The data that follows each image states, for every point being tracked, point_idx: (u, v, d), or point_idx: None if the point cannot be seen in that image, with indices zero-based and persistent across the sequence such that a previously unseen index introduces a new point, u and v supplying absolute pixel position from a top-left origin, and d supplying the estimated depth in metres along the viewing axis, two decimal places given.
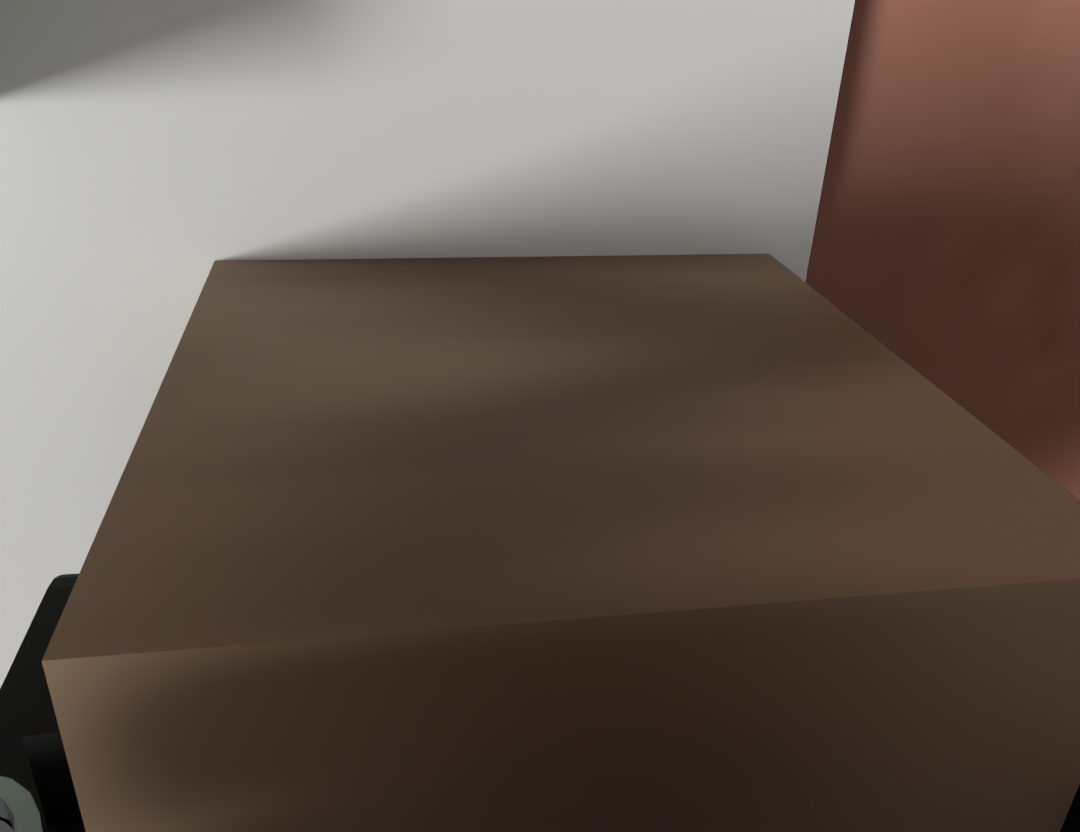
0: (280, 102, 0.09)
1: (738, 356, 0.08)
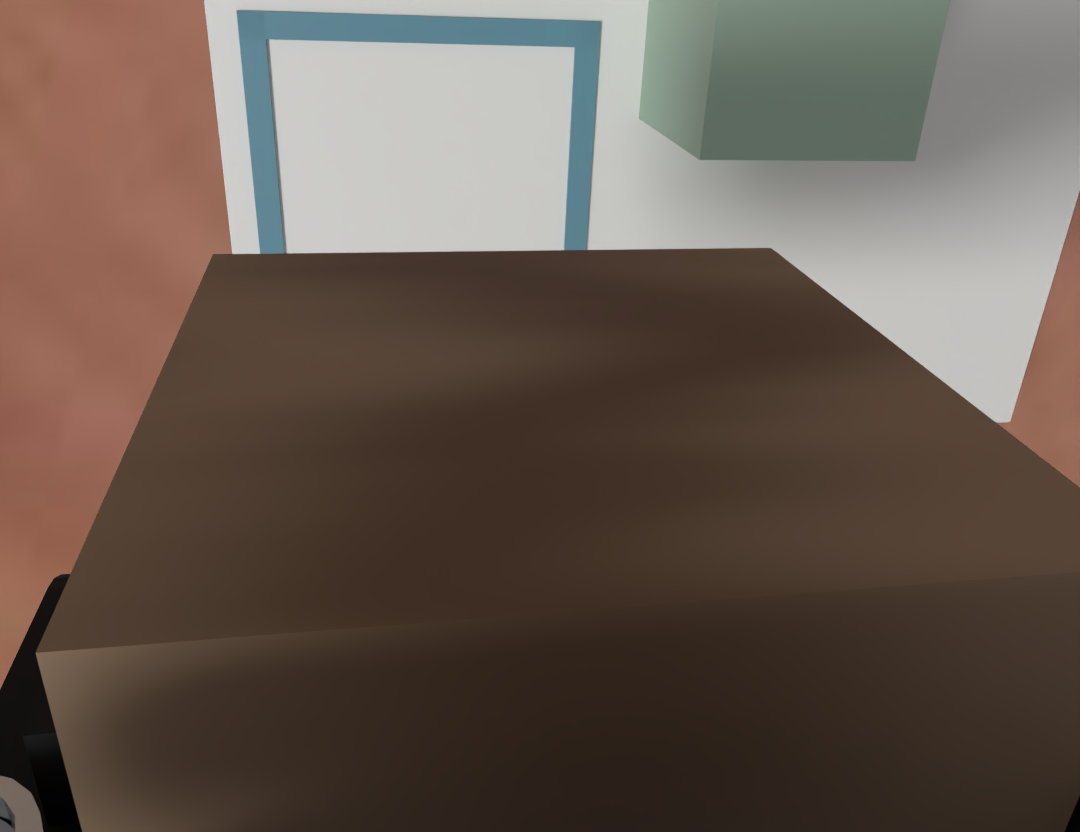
0: None
1: (740, 350, 0.08)
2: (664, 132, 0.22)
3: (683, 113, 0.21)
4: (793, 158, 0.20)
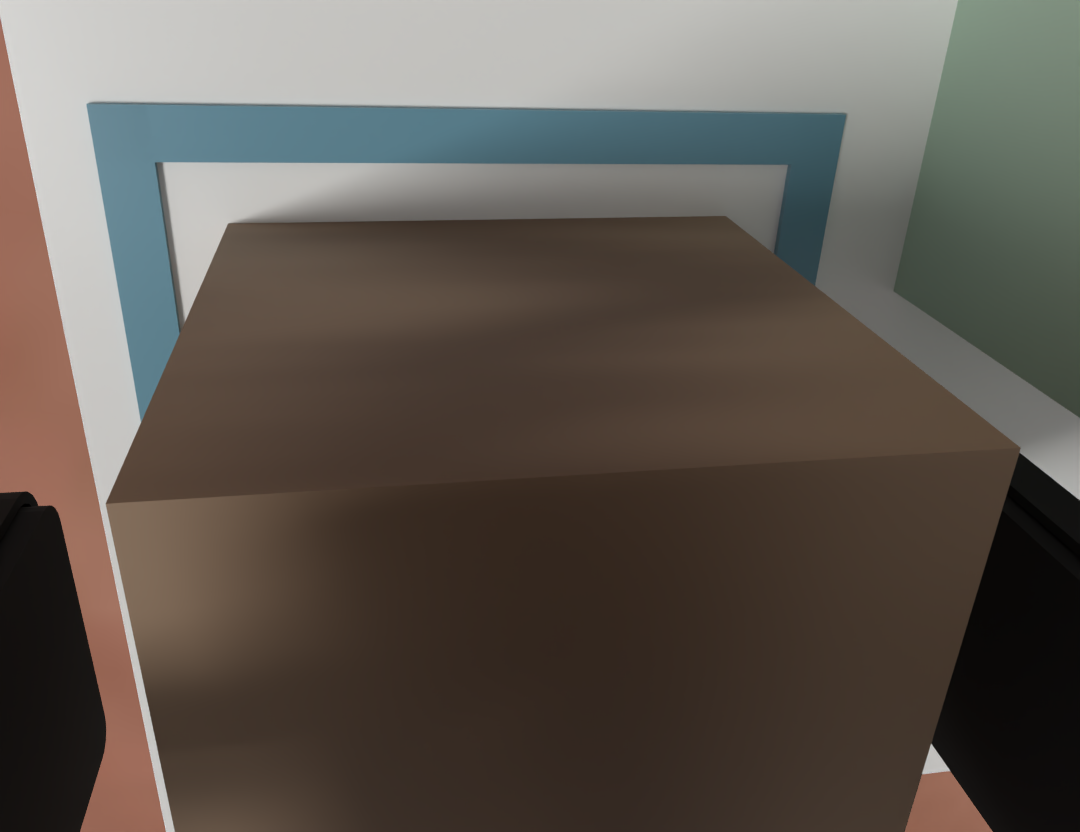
0: None
1: (685, 296, 0.09)
2: (997, 354, 0.11)
3: None
4: None
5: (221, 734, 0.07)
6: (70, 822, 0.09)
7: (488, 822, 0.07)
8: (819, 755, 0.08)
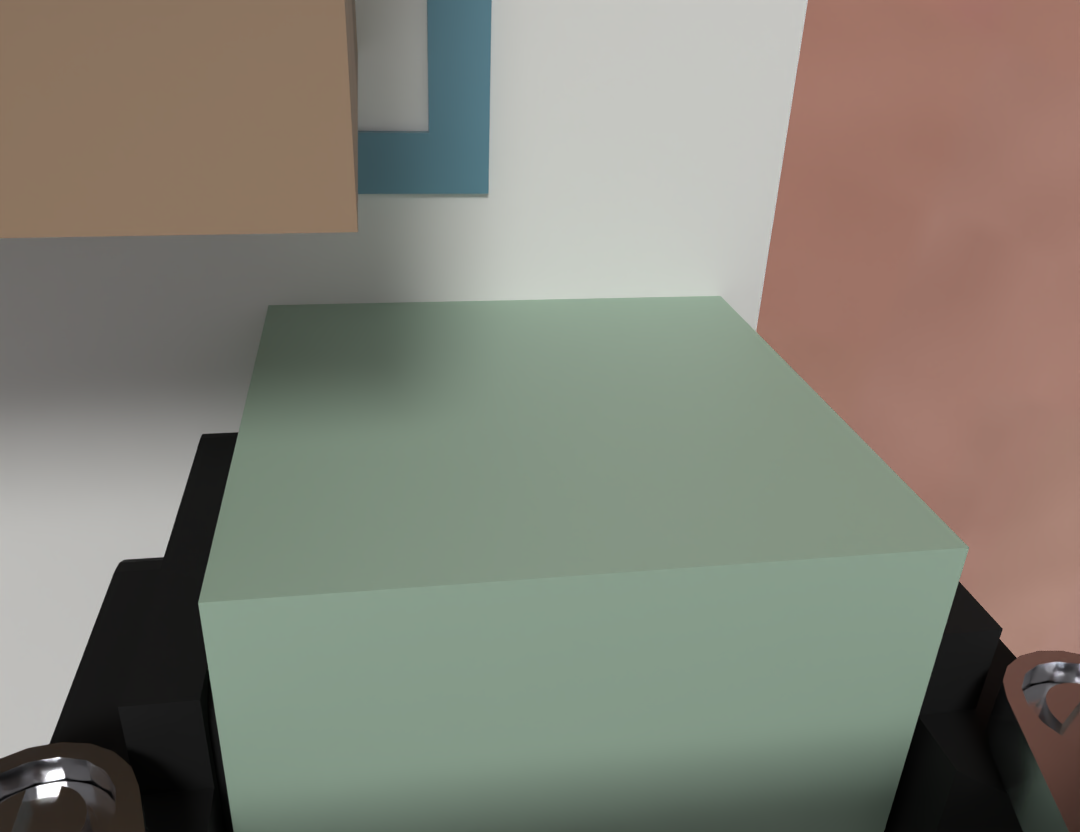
0: None
1: None
2: (255, 402, 0.08)
3: (329, 474, 0.07)
4: None
5: None
6: None
7: None
8: None
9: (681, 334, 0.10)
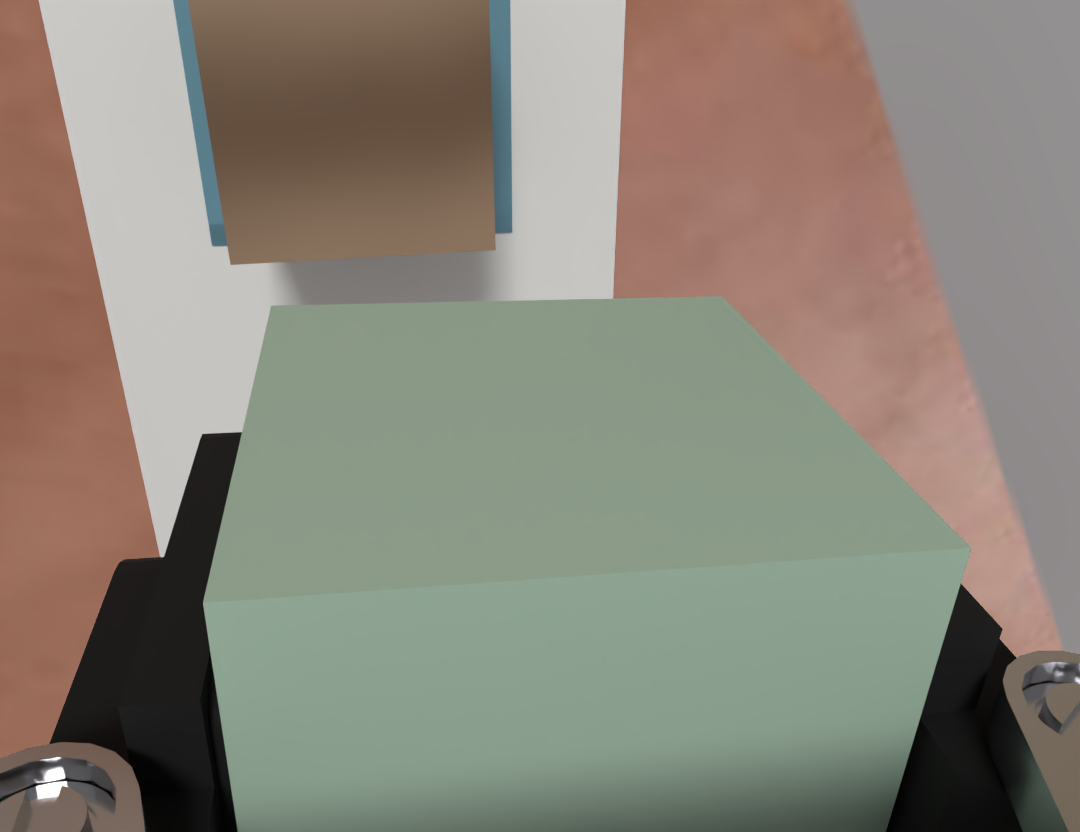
0: None
1: None
2: (258, 402, 0.08)
3: (332, 474, 0.07)
4: None
5: None
6: None
7: (344, 88, 0.20)
8: (370, 214, 0.21)
9: (683, 334, 0.10)
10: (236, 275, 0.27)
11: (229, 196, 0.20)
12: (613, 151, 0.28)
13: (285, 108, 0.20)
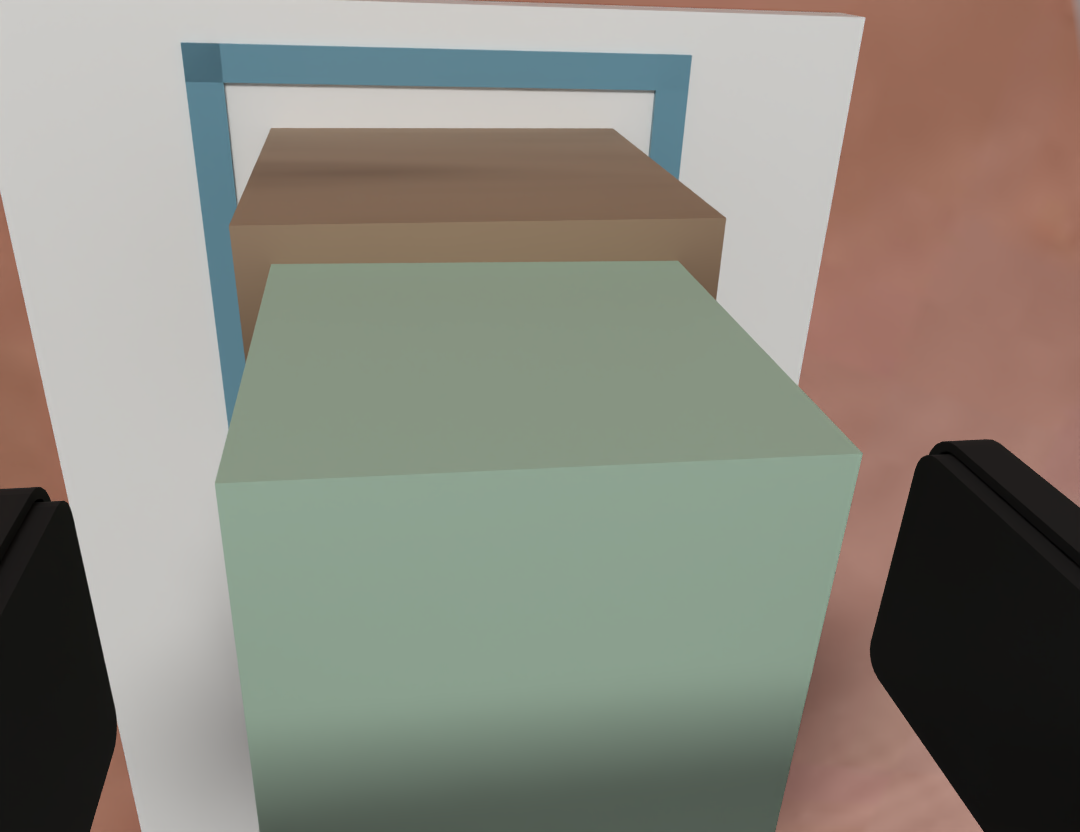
0: None
1: None
2: (260, 339, 0.09)
3: (323, 395, 0.08)
4: (248, 704, 0.08)
5: (575, 254, 0.12)
6: (82, 815, 0.09)
7: None
8: None
9: (639, 291, 0.11)
10: None
11: None
12: (792, 374, 0.20)
13: None
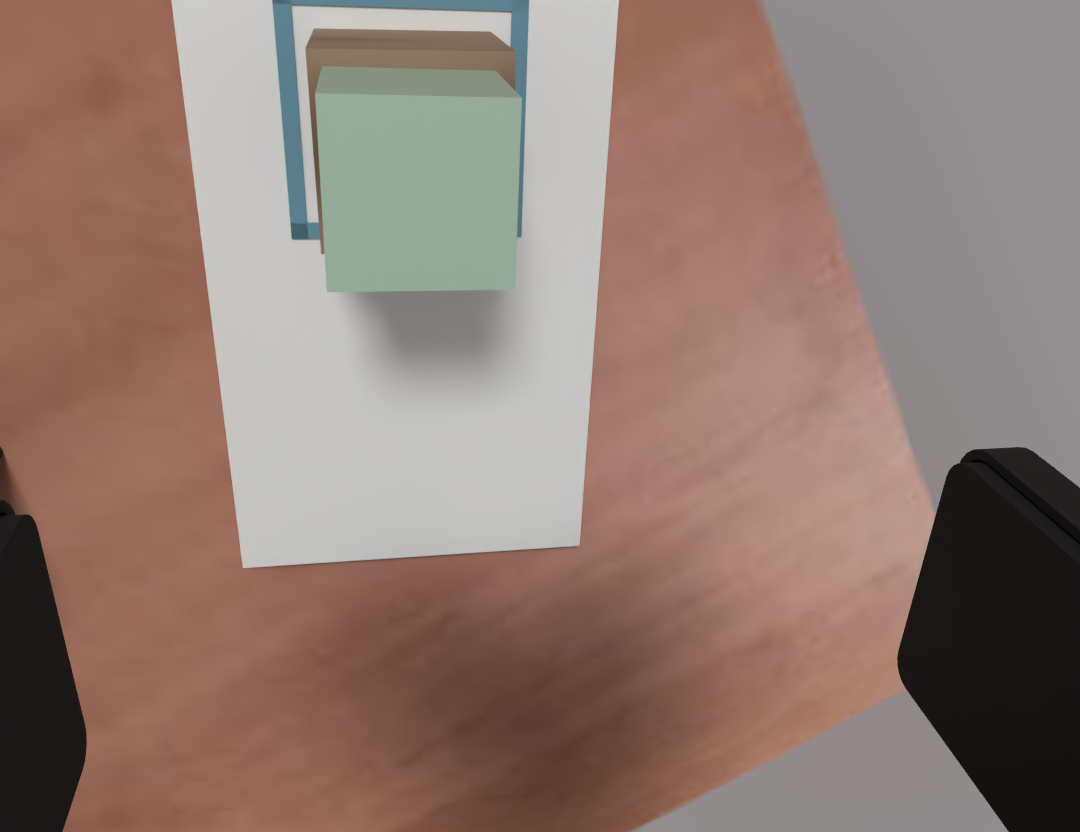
0: (462, 442, 0.40)
1: None
2: (322, 77, 0.25)
3: (346, 85, 0.24)
4: (321, 182, 0.23)
5: (450, 66, 0.27)
6: None
7: None
8: None
9: (472, 75, 0.27)
10: (308, 262, 0.35)
11: None
12: (601, 177, 0.36)
13: None
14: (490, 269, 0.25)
